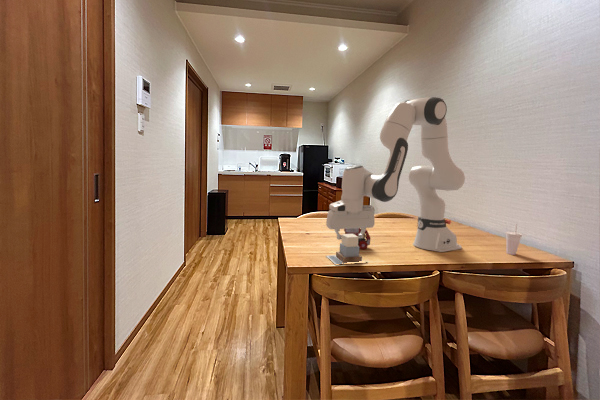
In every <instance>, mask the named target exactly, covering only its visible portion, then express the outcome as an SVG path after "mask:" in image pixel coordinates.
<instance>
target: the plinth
mask: <svg viewBox="0 0 600 400" xmlns="http://www.w3.org/2000/svg"><path fill="white" fill-rule="evenodd" d="M335 255H336V257H337V258H339V259H340V260H341V261H342V262H343V263H347V262H359V261H362V259H363V257H362V256H361V255H360V254H359V256H354V257H345V256H343V255H342V254H341V253H340V251H336V252H335Z"/></svg>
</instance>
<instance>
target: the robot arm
mask: <svg viewBox="0 0 600 400" xmlns="http://www.w3.org/2000/svg"><path fill="white" fill-rule="evenodd" d="M447 109H448V107H447V104H446V102H445V101H444V99H443V98H441V97H438V96H437V97H436V96H432V97H418V98H414V99H406V100H404V101H402V102H397V103H396V104H395V105H394V106H393V108H392V109H391V111H390V112H389V114H388V116H387V118H386V120H385V121H384V122H383V126H382V128H381V130H380V132H379V133H380V134H379V139H380V142H381V144H382V145H383V146H384V147H385V148H386V149H388V151H389V156H388V157H389V158H388V160H387V164H386V168H385V170H384V172H383V173H382V174H376V173H373V172H370V171H369V170H367V169H366V168H364V167H365V166H363V165H361V164H356V165H355V164H354V165H348V166H347V167H345V168H344V171H343V173H342V178H341V191H342V193H341V197H340V198H341V199H340V200H338V201H335V202H332V203H330V204H329V207H328V208H329V210H328V212H327V215H326V216H327V217H326V223H325V225H326V227H327V228H328V229H330V230H334V232H335V234H336V239H337V240H338V241H340V240H342V234H340V232H341V230H344V229H352V228H360V229H361V232H360V233H358V238H363V234H364V233H365V231H366V230H367V229H369V228H374V226H375V207H374V206H373V205H370V204H369V205H366V204H365V205H364V197H368V198H370V199H371V198H372V199H375V200H377V201H380V202H384V203H386V202H390V201H392V200H393V199H394V198H395V197H396V195H397V193H398V191H399V183H400V179H401V174H402V171H403V168H404V165H405V162H406V161H405V160H406V159H407V155H408V150H409V142H408V139H409V135H410V133H411V131H412V128H413V125H414V126H420V127H421V128H420V129H421V131H420V139H421V140H420V143H421V146H420V147H421V154H422V156H423V158H425V159H427V160H429V162H430V163H431V165H428V164H425V165H424V164H423V165H415V166H413V167H412V168H411V169H410V170H409V173H408V180H409V184H411V185H412V186H413V187H414V189H415V191H416V192H417V194H418V199H419V214H418V217H417V230H416V234H415V238H414V240H413V242H412V245H413V246H414V247H417V248H419V249H422V250H426V251H427V250H428V251H434V252H439V253H444V252H450V251H457V250H462V249H463V248H462V245H460V244H458V239H457V235H456V234H455V232H453V231H452V230H451V229H450V228H448V226H447V224H448V225H451V223H452V220H451V219H445V212H446V211H445V210H446V202H445V201H444V199H442V198H441V197H440V196H438V194H437V192H436V190H437V191H438V190H439V191H447V192H449V191H459V190H460V189H461V188H462V187H463V185H464V184H465V181H466V180H465V179H466V177H465V173H464V171H462V169H461V168H459V167H458V166H457V165H456V163H454V161H453V160H452V157H451V155H450V152H449V141H448V136H449V135H448V133H449V132H448V124H447V119H446V115H447V112H448V111H447Z"/></svg>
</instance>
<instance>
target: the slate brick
mask: <svg viewBox="0 0 600 400" xmlns="http://www.w3.org/2000/svg"><path fill="white" fill-rule="evenodd" d="M341 243H342V242H341ZM341 243H339V252H340V253H341V254H342V255H343V256H345V257H354V256H359V255H360V248H359V246H356V247H346V246H344V245H343V244H341Z"/></svg>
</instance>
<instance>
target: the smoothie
mask: <svg viewBox="0 0 600 400" xmlns="http://www.w3.org/2000/svg"><path fill="white" fill-rule="evenodd" d="M517 227H518V224H515V228H514V231H505V235H506V236H505V240H506V243H505V244H506V245H505V246H506V247H505V248H506V254H508V255H511V256H512V255H513V256H515V255H517V252H518V248H519V245H520V241H521V238H522V237H523V234H522V233H520V232H517Z"/></svg>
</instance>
